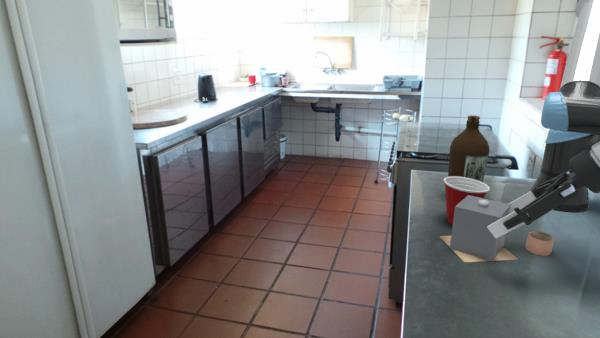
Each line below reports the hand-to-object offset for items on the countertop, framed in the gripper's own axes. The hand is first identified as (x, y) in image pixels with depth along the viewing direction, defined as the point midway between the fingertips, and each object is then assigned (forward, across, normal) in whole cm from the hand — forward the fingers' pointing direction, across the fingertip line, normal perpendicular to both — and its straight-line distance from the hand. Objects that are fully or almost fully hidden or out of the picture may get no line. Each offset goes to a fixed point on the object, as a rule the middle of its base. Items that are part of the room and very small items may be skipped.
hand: (500, 221), depth 86 cm
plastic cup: (+14, +13, +1) cm, 19 cm away
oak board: (+9, +1, -4) cm, 10 cm away
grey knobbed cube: (+8, +1, -3) cm, 9 cm away
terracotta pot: (+2, +9, -11) cm, 14 cm away
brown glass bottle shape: (+18, +33, +6) cm, 38 cm away
